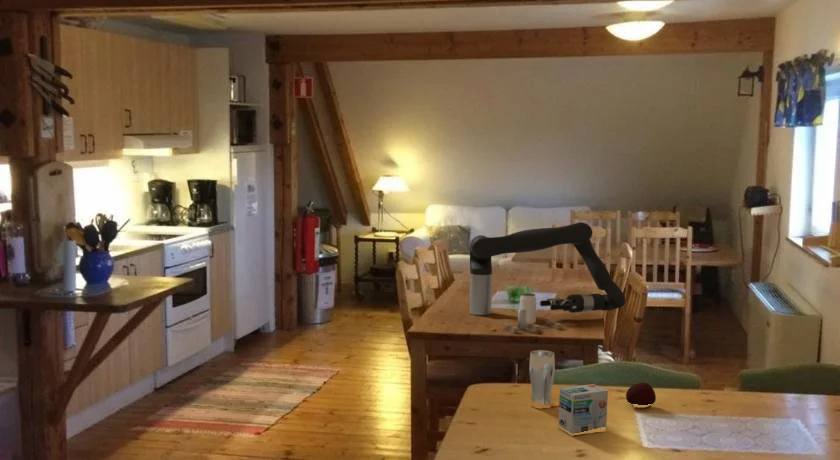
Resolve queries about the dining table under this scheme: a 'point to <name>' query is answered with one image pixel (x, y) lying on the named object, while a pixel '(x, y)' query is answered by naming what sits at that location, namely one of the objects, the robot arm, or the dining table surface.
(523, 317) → the grey peg
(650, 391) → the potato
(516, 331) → the rail
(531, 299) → the can
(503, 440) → the dining table surface
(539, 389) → the beer glass
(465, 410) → the dining table surface
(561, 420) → the light bulb box
